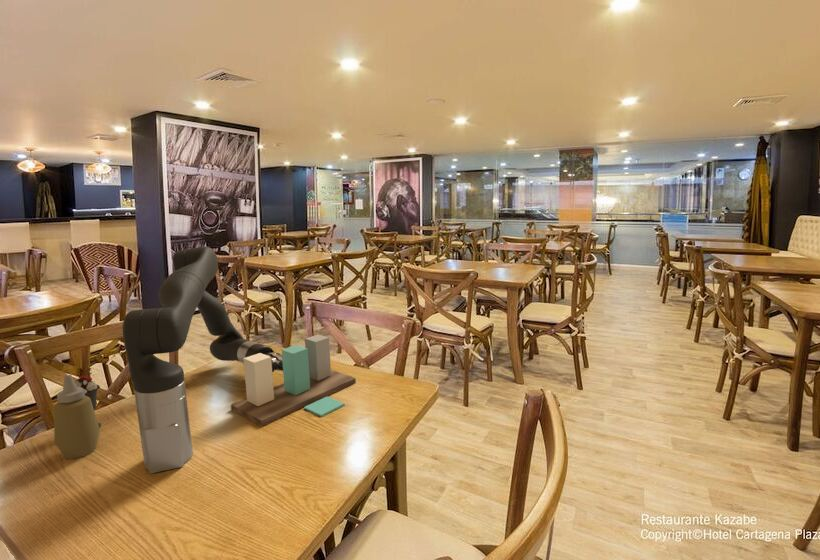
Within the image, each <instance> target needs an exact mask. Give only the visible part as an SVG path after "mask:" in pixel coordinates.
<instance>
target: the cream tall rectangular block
mask: <svg viewBox="0 0 820 560" xmlns="http://www.w3.org/2000/svg"><path fill="white" fill-rule="evenodd" d="M243 360H244V364H243V368H244V370H243V371H244V382H245V394H246V398H247V401H248V402H250V403H252V404H254V405H256V406H260V405H262V404H264V403H267V402H269V401H271V400H274V389H273V387H274V377H273V372H272V362H271V357H270V356H267V355H264V354H262V353H258V354H255V355H252V356H249V357H246V358H243Z"/></svg>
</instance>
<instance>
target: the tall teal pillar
mask: <svg viewBox="0 0 820 560" xmlns="http://www.w3.org/2000/svg"><path fill="white" fill-rule="evenodd" d="M281 355H282V361H283V371H282V372H283V373H282V374H283V375H282V376H283V383H284V390H285V391H287V392H289V393H291V394H294V395H298V394H300V393H302V392H305V391H307V390H309V389H310V377H309V360H308V348H305V346H302V345H297V344H295V345H293V346H290V347H285V348H283V349H281Z"/></svg>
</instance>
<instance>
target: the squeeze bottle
mask: <svg viewBox="0 0 820 560" xmlns="http://www.w3.org/2000/svg"><path fill="white" fill-rule="evenodd" d="M56 398H57V402H56V404H55V405H54V406H53V407H52V409H53V410H52V411H53V429H54V430H53V432H54V444H55V445H56V448H57V449H58V450H59V451H60V453H61V455H63V457H64V459H77V458H78V459H79V458H82V457H85V456H87V455H89V454H91V453H93V452H94V451H95V450H96V448H97V445H98V441H99V437H100V433H101V430H100V428H99V425H98V423H99V422H98V419H97V416H96V413H95V411H94V409H93V405H92V402H91V399H90V398H89V397H87V396H85V394H84V389H83V388H81V387H77V386H76V384H75V381H74V378H73V376H72V374H67V375H64V377H63V386H62V390H60V391H59V392H57V394H56Z"/></svg>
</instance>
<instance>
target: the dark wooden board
mask: <svg viewBox="0 0 820 560" xmlns="http://www.w3.org/2000/svg"><path fill="white" fill-rule="evenodd" d="M356 380H357V379H356V377H354V376H351V375H348V374H345V373H343V372H339V371H337V370H333V369H331V376H328V377H326V378H324V379H321V380H319V381H317V380H314V379H312V378H310V389H309V390H307V391H305V392H302V393H300V394H298V395H294V394H291V393H289V392H287V391H285V390H284V382H283V383H281V384H279V385H276V386H273V389H274V400H271V401H269V402H267V403H264V404H262V405H260V406H256V405H254V404H252V403H250V402H248V401H247V397H246V398H244V399H241V400H239V401H236V402H234V403H231V404H230V410H231V411H233V412H234V413H237V414H238V415H241V416H242V417H244V418H246V419H247V420H250V421H251V422H253V423H255V424H257V425H259V426H260V427H263V426H265V425H268V424H270V423H272V422H274V421H277V420H278V419H280V418H283V417H284V416H287V415H289V414H292V413H293V412H295V411H298V410H300V409H302V408H304V407H305V406H307V405H310V404H312V403H314V402H316V401H318V400H320V399H322V398H325V397H327V396H328V397H329V396H331V395H333V394H334V393H337V392H339V391H341V390H343V389H345V388H348V387H349V386H352V385H354V384H356Z"/></svg>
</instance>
